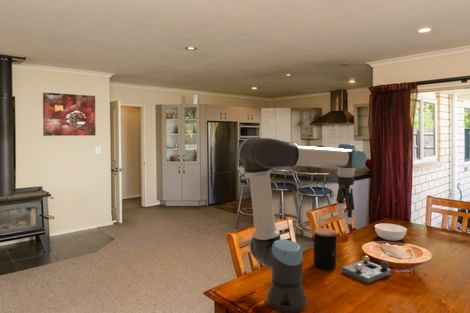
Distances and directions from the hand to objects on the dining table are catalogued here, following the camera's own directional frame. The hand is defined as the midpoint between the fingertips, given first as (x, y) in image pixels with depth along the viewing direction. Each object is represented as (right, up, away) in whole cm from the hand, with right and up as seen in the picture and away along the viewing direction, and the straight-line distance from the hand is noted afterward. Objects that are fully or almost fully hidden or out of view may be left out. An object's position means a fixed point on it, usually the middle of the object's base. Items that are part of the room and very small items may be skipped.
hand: (344, 220), depth 157 cm
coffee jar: (-8, -24, +5) cm, 26 cm away
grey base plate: (+9, -25, -3) cm, 27 cm away
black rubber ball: (+18, -20, -4) cm, 27 cm away
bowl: (+45, -21, +48) cm, 69 cm away
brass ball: (+12, -20, +5) cm, 24 cm away
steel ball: (+5, -21, -6) cm, 22 cm away
